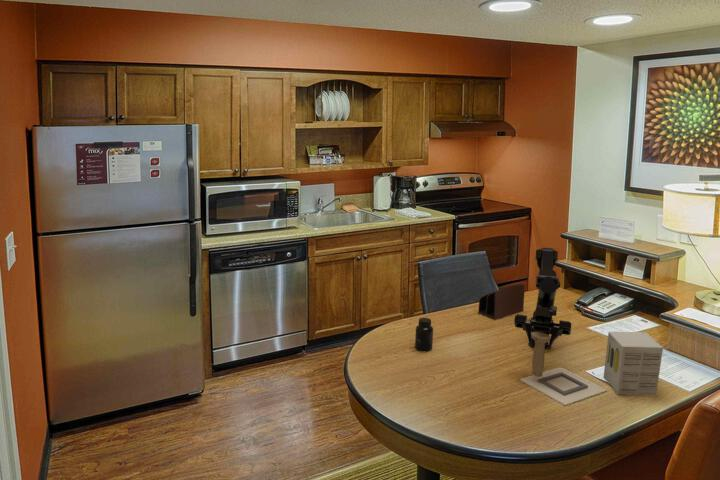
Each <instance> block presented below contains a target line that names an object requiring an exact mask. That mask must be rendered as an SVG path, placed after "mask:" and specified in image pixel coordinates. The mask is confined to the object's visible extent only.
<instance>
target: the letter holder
mask: <svg viewBox="0 0 720 480" xmlns="http://www.w3.org/2000/svg"><path fill="white" fill-rule="evenodd" d="M525 288H526V287H525V284H522V283H518V284H513V285H508V286H506V287H503V288H501V289H498V290H496V291H493V292H490V293H487V294H484V295H483V296H481V297H480V298H479V300H478V302H479V303H478V310H477V311H478V312H477V314H479V315H480V316H483V317H486V318H488V319H491V320H493V321H496V320H499V319H501V318H502V319H503V318H505V317H509V316H512V315H515V314H516V315H517V314H520V313H521V312H524V304H525V291H526V290H525Z"/></svg>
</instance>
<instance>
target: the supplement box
mask: <svg viewBox="0 0 720 480" xmlns="http://www.w3.org/2000/svg"><path fill="white" fill-rule="evenodd" d="M663 351H664V347H663V346H662V345H661V344H659V342H657V341H656V339H654V338H653V337H652V336H650V335H649V333H647V332H645V331H642V332H641V331H608V336H607V344H606V352H605V353H606V354H605V359H604V360H605V361H604V370H603V378H604V377H605V378H606V380H607V381H608V382H609V383H608V382H607V381H606V380H605V381H606V382H607V383H608V385H609V384H610V385H611V386H612V387H611V386H610V387H611V389H612V390H613V389H614V390H615V391H616V392H615V391H614V390H613V391H614V392H615V393H616V395H617V394H628V395H627V396H644V395H656V396H657V391H658V385H659V377H660V371H661V364H662V358H663V357H662V356H663ZM605 378H604V379H605ZM630 394H631V395H630Z"/></svg>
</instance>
